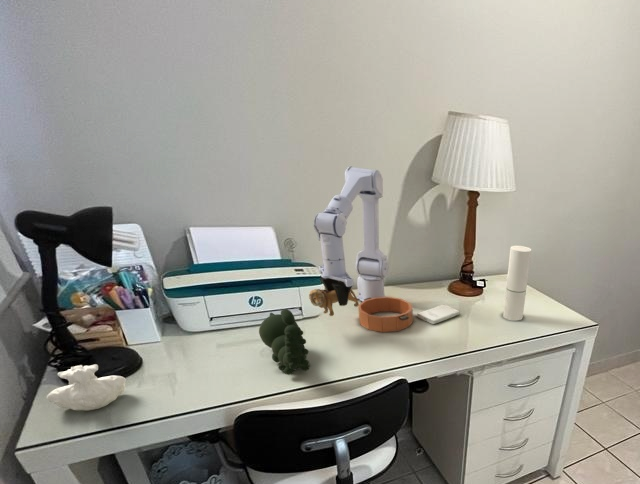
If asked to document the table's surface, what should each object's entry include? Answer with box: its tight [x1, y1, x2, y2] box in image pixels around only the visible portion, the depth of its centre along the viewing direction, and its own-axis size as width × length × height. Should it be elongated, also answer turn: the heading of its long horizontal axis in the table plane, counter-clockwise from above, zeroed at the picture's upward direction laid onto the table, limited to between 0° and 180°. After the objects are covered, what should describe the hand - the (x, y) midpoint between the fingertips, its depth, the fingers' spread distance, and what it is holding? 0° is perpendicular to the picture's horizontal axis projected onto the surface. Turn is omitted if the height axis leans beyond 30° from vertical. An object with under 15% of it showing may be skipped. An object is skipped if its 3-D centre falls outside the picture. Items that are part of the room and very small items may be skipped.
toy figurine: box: [258, 308, 311, 376], centre depth 105 cm, size 9×19×25 cm
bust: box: [46, 363, 127, 411], centre depth 85 cm, size 12×8×11 cm
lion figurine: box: [308, 288, 360, 317], centre depth 122 cm, size 15×5×9 cm, turn 143°
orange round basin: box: [357, 296, 414, 333], centre depth 136 cm, size 20×17×5 cm
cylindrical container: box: [502, 245, 532, 322], centre depth 145 cm, size 7×7×25 cm
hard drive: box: [416, 304, 460, 325], centre depth 144 cm, size 2×8×12 cm
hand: (338, 302), depth 123 cm, fingers closed on lion figurine, 4 cm apart
